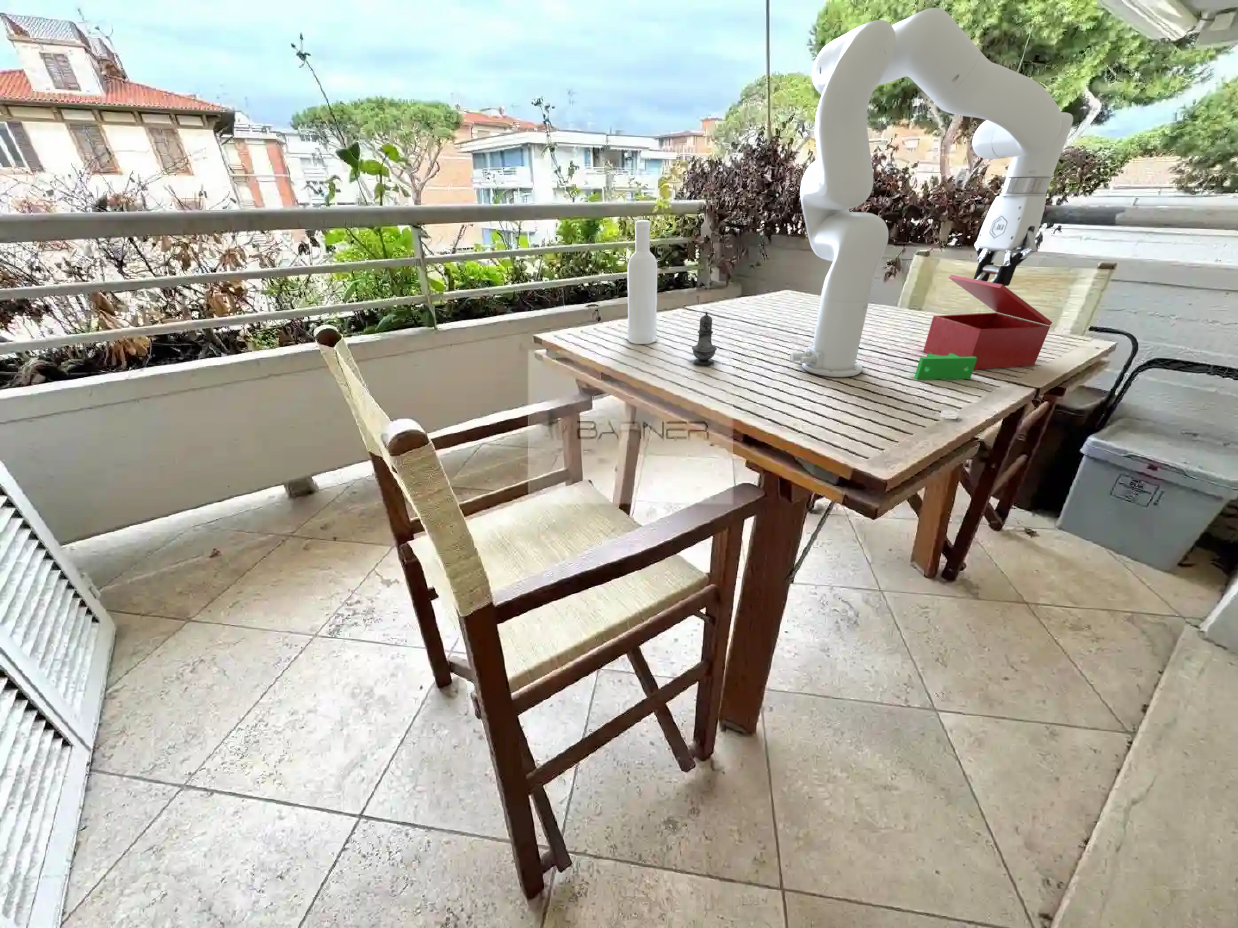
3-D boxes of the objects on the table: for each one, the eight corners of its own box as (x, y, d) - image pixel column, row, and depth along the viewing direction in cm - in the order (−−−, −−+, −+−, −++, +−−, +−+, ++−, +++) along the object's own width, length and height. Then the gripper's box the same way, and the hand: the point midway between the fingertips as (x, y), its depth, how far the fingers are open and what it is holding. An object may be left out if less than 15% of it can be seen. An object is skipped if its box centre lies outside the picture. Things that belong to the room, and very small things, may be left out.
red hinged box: (967, 370, 107) (980, 330, 103) (922, 351, 120) (933, 315, 116) (1034, 365, 109) (1050, 326, 105) (983, 348, 122) (996, 312, 117)
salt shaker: (688, 365, 114) (690, 313, 109) (694, 358, 119) (697, 308, 113) (712, 367, 112) (716, 315, 107) (718, 360, 117) (722, 309, 111)
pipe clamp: (959, 373, 106) (966, 352, 104) (970, 379, 102) (977, 358, 100) (907, 373, 106) (914, 353, 104) (916, 379, 103) (923, 358, 100)
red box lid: (999, 288, 99) (1018, 264, 97) (948, 277, 112) (964, 256, 110) (1049, 325, 105) (1068, 304, 103) (995, 312, 117) (1011, 292, 115)
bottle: (622, 341, 134) (620, 221, 120) (639, 335, 140) (639, 219, 125) (644, 346, 130) (645, 221, 115) (662, 339, 135) (664, 220, 120)
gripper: (974, 189, 104) (946, 278, 113) (1045, 187, 89) (1007, 290, 98) (1006, 189, 105) (975, 278, 114) (1081, 188, 90) (1039, 289, 99)
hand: (990, 282), depth 106 cm, fingers closed on red box lid, 5 cm apart
